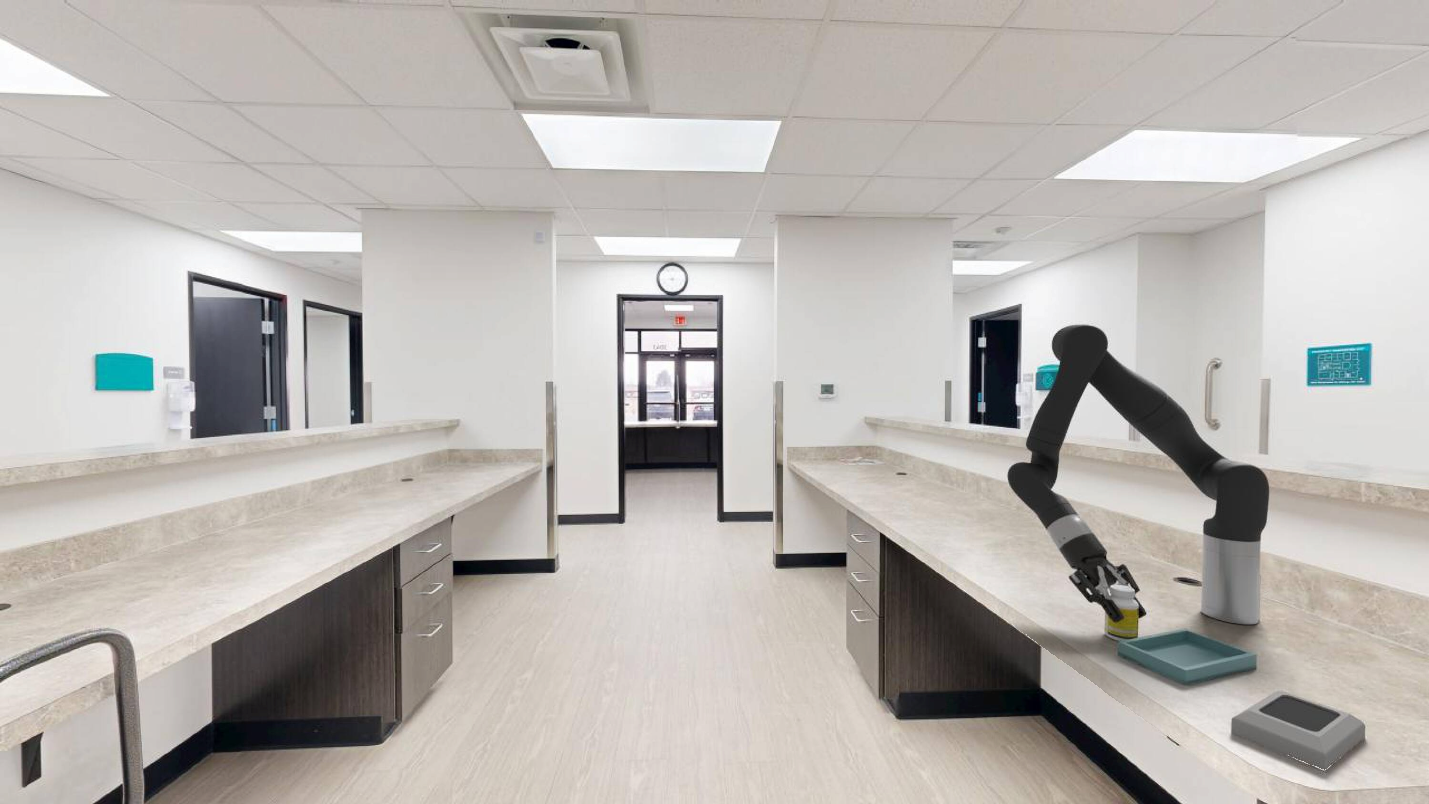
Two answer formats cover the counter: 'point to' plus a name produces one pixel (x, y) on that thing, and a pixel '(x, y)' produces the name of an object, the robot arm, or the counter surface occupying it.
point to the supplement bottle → (1129, 610)
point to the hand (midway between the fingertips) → (1130, 618)
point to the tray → (1187, 656)
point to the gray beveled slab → (1299, 728)
